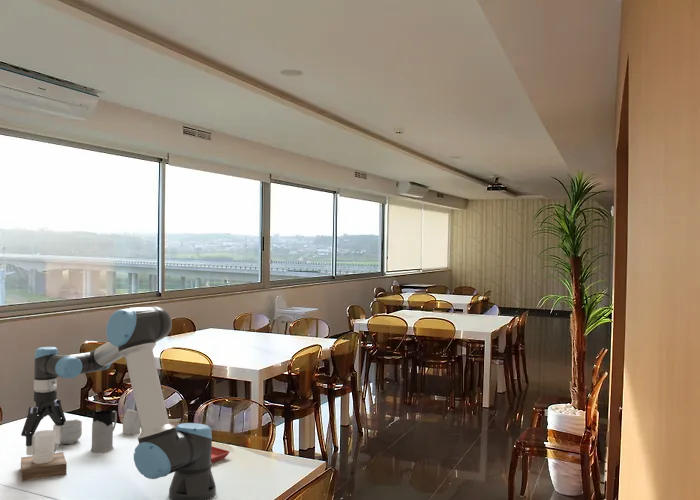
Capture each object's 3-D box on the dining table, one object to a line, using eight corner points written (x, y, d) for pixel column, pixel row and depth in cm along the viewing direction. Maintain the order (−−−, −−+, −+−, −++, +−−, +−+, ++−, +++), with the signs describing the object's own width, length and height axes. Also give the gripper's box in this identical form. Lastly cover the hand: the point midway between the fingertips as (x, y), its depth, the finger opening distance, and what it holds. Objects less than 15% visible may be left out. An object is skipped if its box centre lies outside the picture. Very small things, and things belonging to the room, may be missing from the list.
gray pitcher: (85, 452, 243) (86, 414, 244) (106, 441, 257) (106, 406, 258) (105, 453, 242) (106, 416, 242) (125, 443, 256) (125, 407, 256)
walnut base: (66, 474, 219) (66, 463, 219) (22, 481, 212) (22, 469, 212) (62, 462, 231) (63, 452, 231) (20, 468, 224) (21, 457, 224)
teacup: (70, 446, 250) (71, 427, 250) (47, 444, 252) (47, 425, 252) (91, 437, 263) (92, 418, 263) (69, 435, 265) (69, 416, 266)
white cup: (31, 458, 223) (31, 431, 223) (55, 456, 226) (55, 429, 226) (30, 465, 215) (30, 437, 216) (54, 462, 219) (55, 435, 219)
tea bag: (133, 435, 268) (133, 412, 268) (122, 432, 271) (123, 410, 271) (139, 433, 271) (140, 410, 271) (129, 430, 274) (129, 408, 274)
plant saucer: (230, 459, 240) (230, 450, 240) (195, 472, 225) (196, 463, 225) (198, 450, 250) (198, 442, 250) (163, 462, 235) (163, 453, 235)
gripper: (29, 398, 209) (27, 460, 208) (76, 383, 233) (75, 439, 233) (10, 396, 210) (9, 458, 210) (59, 382, 234) (58, 437, 234)
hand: (43, 448), depth 221 cm, fingers open, 13 cm apart
